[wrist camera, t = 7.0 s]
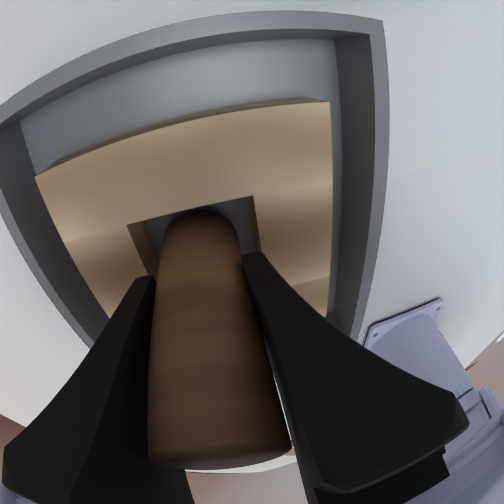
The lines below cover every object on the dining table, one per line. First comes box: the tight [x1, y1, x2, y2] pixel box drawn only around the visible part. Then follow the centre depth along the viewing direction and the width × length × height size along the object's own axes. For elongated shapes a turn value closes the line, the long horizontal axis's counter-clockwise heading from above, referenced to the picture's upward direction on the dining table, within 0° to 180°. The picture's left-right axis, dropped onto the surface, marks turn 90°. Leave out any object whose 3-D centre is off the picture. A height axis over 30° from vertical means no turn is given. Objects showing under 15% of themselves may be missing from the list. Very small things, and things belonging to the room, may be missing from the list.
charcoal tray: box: [0, 11, 389, 349], centre depth 11 cm, size 16×14×3 cm
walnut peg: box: [147, 209, 292, 470], centre depth 8 cm, size 3×3×8 cm
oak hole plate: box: [35, 97, 333, 318], centre depth 11 cm, size 10×10×2 cm
